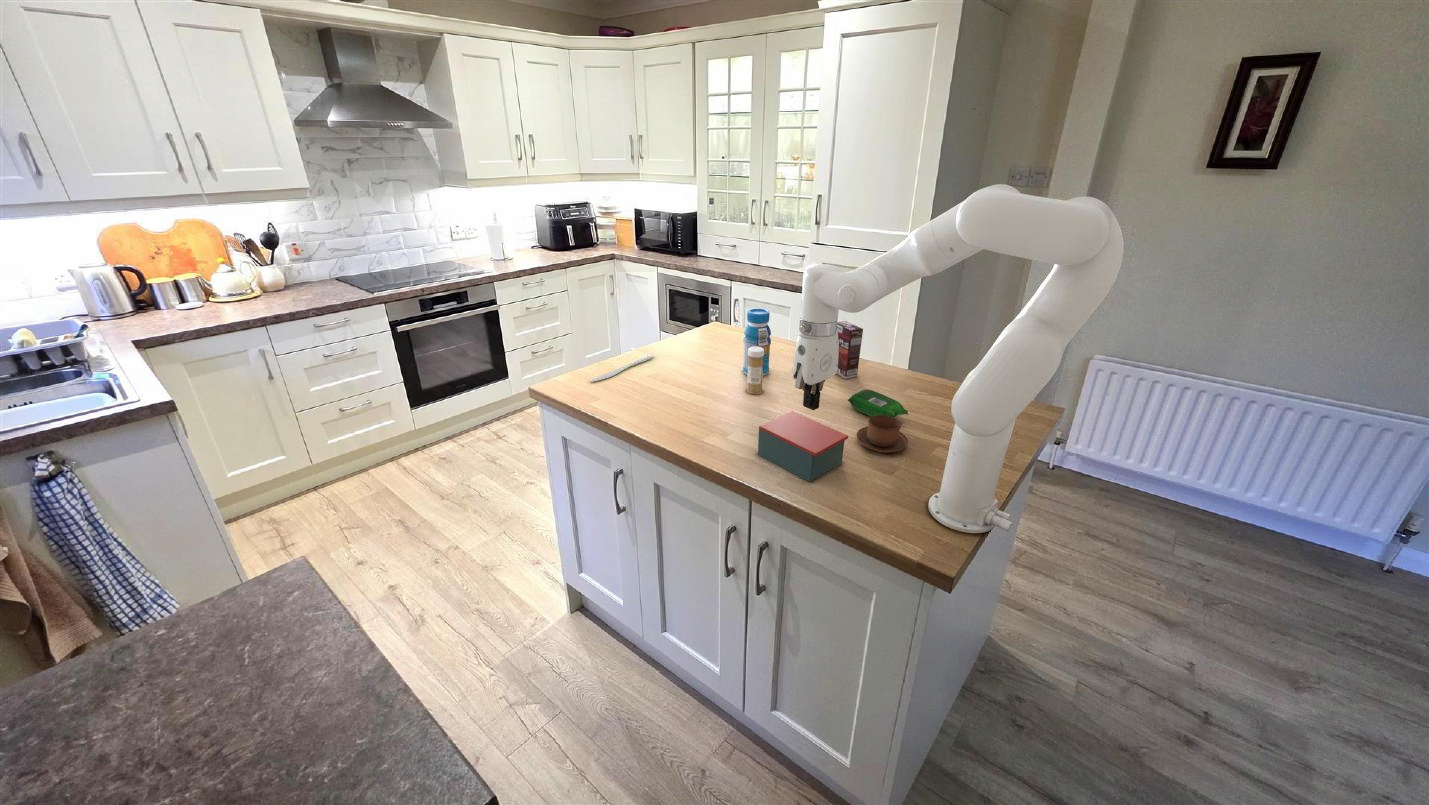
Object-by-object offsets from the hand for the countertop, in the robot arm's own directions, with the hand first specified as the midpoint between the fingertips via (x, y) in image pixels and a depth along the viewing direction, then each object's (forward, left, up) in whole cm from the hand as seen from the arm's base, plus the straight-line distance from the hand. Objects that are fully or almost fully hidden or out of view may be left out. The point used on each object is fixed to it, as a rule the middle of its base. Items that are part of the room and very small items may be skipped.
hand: (810, 407), depth 120 cm
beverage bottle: (+45, -30, -14) cm, 56 cm away
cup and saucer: (-7, -20, -14) cm, 26 cm away
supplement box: (+26, -50, -14) cm, 58 cm away
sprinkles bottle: (+35, -19, -14) cm, 42 cm away
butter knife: (+75, 0, -14) cm, 76 cm away
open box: (+2, 0, -14) cm, 14 cm away
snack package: (+3, -33, -14) cm, 36 cm away
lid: (+2, 0, -7) cm, 7 cm away
